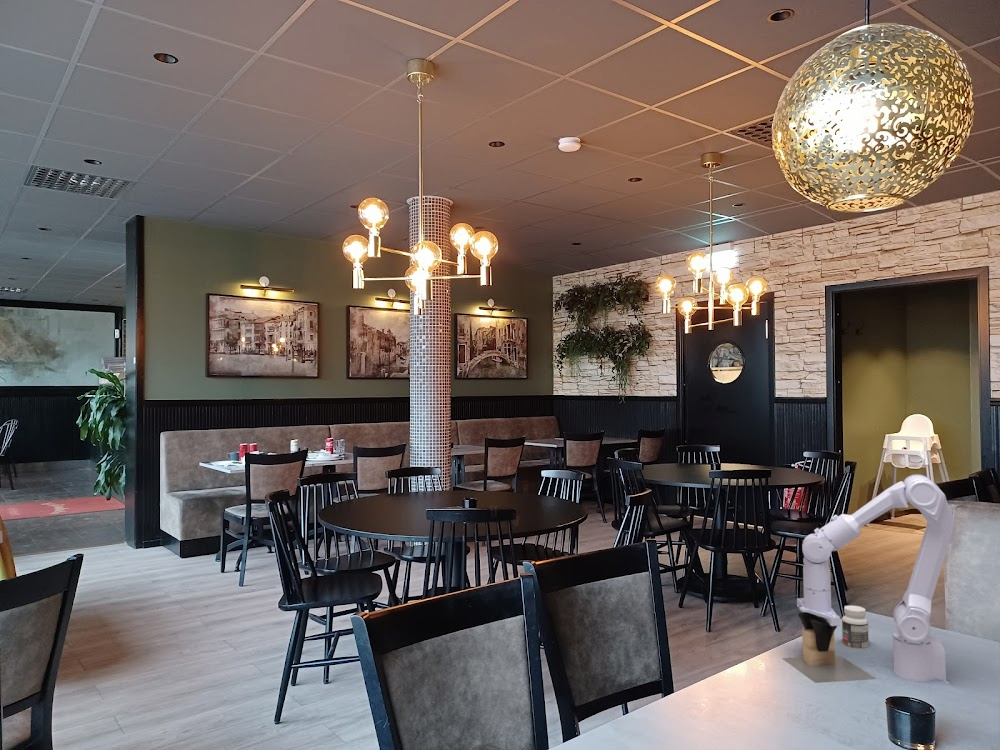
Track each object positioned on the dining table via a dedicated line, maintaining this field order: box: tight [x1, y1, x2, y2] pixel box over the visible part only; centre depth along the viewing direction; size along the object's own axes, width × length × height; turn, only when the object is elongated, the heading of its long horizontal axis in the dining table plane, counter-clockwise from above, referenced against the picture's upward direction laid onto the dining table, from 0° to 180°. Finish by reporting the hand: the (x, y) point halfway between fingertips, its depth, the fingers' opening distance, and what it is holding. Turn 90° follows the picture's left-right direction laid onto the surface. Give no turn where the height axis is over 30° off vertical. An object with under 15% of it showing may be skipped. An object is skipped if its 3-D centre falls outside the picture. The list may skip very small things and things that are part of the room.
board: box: [781, 654, 878, 684], centre depth 159 cm, size 14×14×1 cm
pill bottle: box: [841, 605, 870, 649], centre depth 174 cm, size 6×6×10 cm
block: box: [801, 629, 836, 665], centre depth 163 cm, size 6×3×7 cm, turn 96°
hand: (818, 648), depth 163 cm, fingers closed on block, 3 cm apart
